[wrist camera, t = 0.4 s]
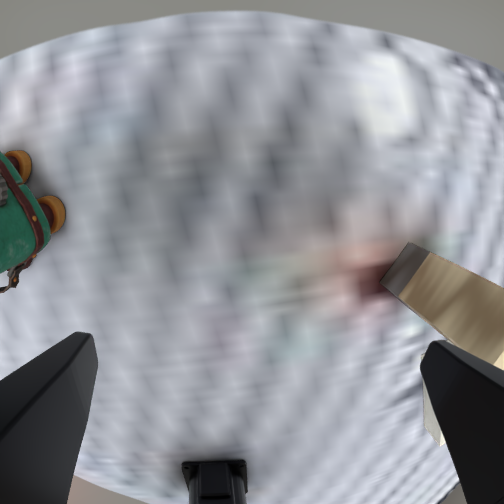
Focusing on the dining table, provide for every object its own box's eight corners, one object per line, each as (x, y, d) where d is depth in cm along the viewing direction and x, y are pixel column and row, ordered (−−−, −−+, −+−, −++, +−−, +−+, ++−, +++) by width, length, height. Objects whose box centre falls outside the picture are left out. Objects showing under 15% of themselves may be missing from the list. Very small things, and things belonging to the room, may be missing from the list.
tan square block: (406, 306, 25) (508, 391, 13) (379, 282, 24) (489, 370, 12) (434, 269, 25) (546, 335, 12) (408, 242, 24) (533, 304, 11)
